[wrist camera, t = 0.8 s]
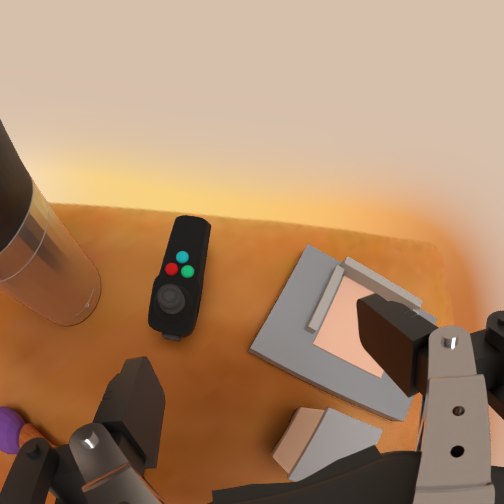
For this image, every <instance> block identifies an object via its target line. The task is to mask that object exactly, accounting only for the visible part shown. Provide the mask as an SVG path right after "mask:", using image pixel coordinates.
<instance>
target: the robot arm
mask: <svg viewBox="0 0 504 504" xmlns="http://www.w3.org/2000/svg"><path fill="white" fill-rule="evenodd" d="M0 290H2V291H3V292H5V293H6V294H8V295H9V296H11V297H12V298H14V299H16V300H17V301H19V302H20V303H22V304H23V305H25V306H27V307H28V308H30V309H32V310H33V311H35V312H37V313H38V314H40V315H42V316H43V317H45V318H47V319H49V320H50V321H52V322H54V323H56V324H59V325H62V326H71V325H75V324H78V323H80V322H82V321H83V320H84V319H86V318H87V317H88V316H89V315H90V314H91V313H92V311H93V310H94V308H95V306H96V305H97V302H98V300H99V297H100V291H101V280H100V276H99V273H98V271H97V269H96V267H95V266H94V265H93V263H92V262H91V261H90V260H89V258H88V257H87V256H86V255H85V253H84V252H83V250H82V249H81V248H80V247H79V245H78V244H77V243H76V241H75V240H74V239H73V237H72V236H71V235H70V233H69V232H68V231H67V229H66V228H65V226H64V225H63V224H62V222H61V221H60V220H59V218H58V217H57V215H56V214H55V212H54V211H53V210H52V208H51V207H50V205H49V204H48V202H47V201H46V199H45V198H44V196H43V195H42V193H41V192H40V190H39V189H38V187H37V186H36V184H35V183H34V181H33V180H32V178H31V176H30V175H29V173H28V171H27V170H26V168H25V167H24V165H23V163H22V161H21V160H20V158H19V156H18V154H17V152H16V150H15V148H14V146H13V144H12V142H11V140H10V138H9V136H8V134H7V132H6V130H5V128H4V126H3V124H2V122H1V120H0ZM356 308H357V318H358V330H359V338H360V342H361V344H362V346H363V348H364V349H365V351H366V352H367V353H368V354H369V355H370V356H371V357H372V358H373V359H374V360H375V361H376V363H377V364H378V365H379V366H380V367H381V368H382V369H383V370H384V371H385V372H386V374H387V375H388V376H389V377H390V378H391V379H392V380H393V381H394V382H395V384H396V385H397V386H398V387H399V388H400V389H401V390H402V391H403V392H404V394H405V395H406V396H407V397H408V398H409V397H411V396H413V395H415V394H417V393H419V392H420V393H421V394H422V395H423V396H422V402H421V411H420V419H419V426H418V433H417V440H416V445H415V450H414V451H393V452H386V453H381V454H380V452H379V451H378V449H377V448H376V446H375V445H372V446H370V447H368V448H366V449H363V450H361V451H358V452H356V453H354V454H351V455H348V456H346V457H343V458H341V459H338V460H336V461H334V462H333V463H331V464H329V465H328V466H326V467H324V468H322V469H321V470H319V471H317V472H315V473H314V474H312V475H310V476H308V477H306V478H304V479H302V480H300V481H297V482H290V483H273V484H250V485H245V486H240V487H234V488H228V489H222V490H215V491H212V496H213V502H210V503H208V504H504V467H498V466H491V442H490V441H491V439H490V421H489V410H488V404H489V405H490V406H491V407H492V408H493V409H494V410H495V411H496V413H498V414H499V416H501V417H502V419H504V311H497V312H494V313H492V314H491V315H490V316H489V317H488V319H487V324H486V329H484V330H481V331H477V332H474V333H471V334H469V333H468V332H467V331H466V330H465V329H463V328H461V327H457V326H444V327H440V328H438V327H437V326H435V325H434V324H432V323H431V322H429V321H428V320H426V319H425V318H423V317H422V316H420V315H418V314H417V313H416V312H415V311H413V310H411V309H410V308H408V307H407V306H405V305H404V304H402V303H399V302H395V301H387V300H386V299H384V298H383V297H381V296H380V295H378V294H377V293H374V294H371V295H368V296H365V297H362V298H360V299H358V300H357V302H356ZM105 392H106V393H104V396H103V398H102V400H103V401H101V403H100V405H99V407H98V410H97V412H96V415H95V417H94V420H93V422H92V423H91V424H87V425H84V426H82V427H80V428H79V429H77V430H76V431H75V432H74V433H73V434H72V436H71V438H70V441H69V444H67V445H63V446H59V447H55V448H53V447H52V446H51V445H50V443H49V442H48V441H47V440H46V439H45V438H42V437H36V438H33V439H30V440H28V441H27V442H26V443H24V444H23V445H22V447H21V448H20V450H19V452H18V454H17V456H16V458H15V461H14V463H13V465H12V467H11V469H10V472H9V474H8V476H7V479H6V481H5V483H4V486H3V488H2V491H1V493H0V504H45V501H46V497H47V494H48V491H50V492H51V493H52V494H53V495H54V496H55V497H56V501H55V504H168V503H167V502H166V501H165V500H164V499H163V498H162V497H161V496H160V494H159V493H158V492H157V491H156V490H155V489H154V488H153V486H152V485H151V484H150V483H149V482H148V480H147V479H146V478H145V477H144V476H143V473H144V469H148V468H156V467H157V459H158V451H159V443H160V436H161V429H162V422H163V415H164V409H165V395H164V392H163V389H162V387H161V385H160V383H159V381H158V379H157V377H156V374H155V372H154V370H153V368H152V366H151V364H150V362H149V360H148V359H147V357H145V356H143V357H138V358H132V359H127V360H126V361H125V363H124V366H123V368H122V370H121V373H120V374H117V375H116V376H115V377H114V378H113V379H112V380H111V381H110V382H109V384H108V386H107V389H106V391H105Z"/></svg>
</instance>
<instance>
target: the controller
mask: <svg viewBox="0 0 504 504" xmlns="http://www.w3.org/2000/svg"><path fill="white" fill-rule="evenodd" d="M210 230H211V224H209V223H208V222H207V221H206V220H205V219H203V218H200V217H194V216H187V215H183V216H179V217H177V218H176V219H175V222H174V225H173V229H172V232H171V235H170V239H169V242H168V245H167V249H166V252H165V256H164V259H163V263H162V267H161V270H160V274H159V275H158V276H157V277H156V279H155V281H154V284H153V289H152V295H151V301H150V307H149V314H148V323H149V326H150V327H152V328H153V329H154V330H156V331H159V332H162V337H164V338H165V339H169V340H174V341H180V340H181V337H186V336H189V335H190V334H191V333H192V332H193V330H194V327H195V324H196V321H197V317H198V312H199V307H200V301H201V295H202V288H203V278H204V270H205V263H206V257H207V250H208V243H209V237H210Z"/></svg>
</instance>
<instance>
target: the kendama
mask: <svg viewBox="0 0 504 504" xmlns="http://www.w3.org/2000/svg"><path fill="white" fill-rule="evenodd" d="M36 437H42V438H45V437H44V436H43V435H42V434H40V433H39V432H38V431H37V430H36V429H35V428H34V427H33V426H32V425H31V424H29V423H28V424H25V422H24V420H23V418H22V417H21V416H20V415H19V414H18V413H17V412H15V411H14V410H13V409H10V408H8V407H2V406H1V407H0V450H1V451H3V452H5V453H7V454H18V452H19V450H20V448H21V447H22V445H23V444H24V443H26V442H27V441H28V440H30V439H33V438H36ZM45 439H46V438H45ZM46 440H47V439H46ZM47 441H48V440H47ZM48 442H49V441H48ZM49 443H50V442H49ZM50 445H51V446H52V447H53V448H55V447H59V446H55V445H52V444H51V443H50Z"/></svg>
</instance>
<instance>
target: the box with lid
mask: <svg viewBox="0 0 504 504" xmlns="http://www.w3.org/2000/svg"><path fill="white" fill-rule="evenodd" d="M382 432H383V430H382V429H379V428H377V427H374V426H372V425H369V424H367V423H364V422H362V421H359V420H357V419H355V418H352V417H350V416H348V415H345V414H343V413H341V412H338V411H336V410H334V409H332V408H329V407H326V409H325V410H320V409H312V408H304V407H299V408H298V409H296V410H295V412H294V413H293V415H292V417H291V419H290V424H289V426H288V428H287V429H286V431H285V433H284V435H283V436H282V438H281V440H279V441H278V442H277V443H276V444H275V446H274V448H273V450H272V455H271V456H272V457H273V458H274V459H275V460H276V461H277V463H278V464H279V465H280V466H281V467H282V468H283V469H284V470H285V471H286V472H287V473H288V476H287V478H288V479H290V480H292V481H295V482H297V481H300V480H302V479H304V478H306V477H308V476H310V475H312V474H314V473H315V472H317V471H319V470H321V469H322V468H324V467H326V466H328V465H329V464H331V463H333V462H334V461H336V460H338V459H341V458H343V457H346V456H348V455H351V454H354V453H356V452H358V451H361V450H363V449H366V448H368V447H370V446H372V445H375V446H376V444H377V442H378V440H379V438H380V436H381V434H382Z"/></svg>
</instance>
